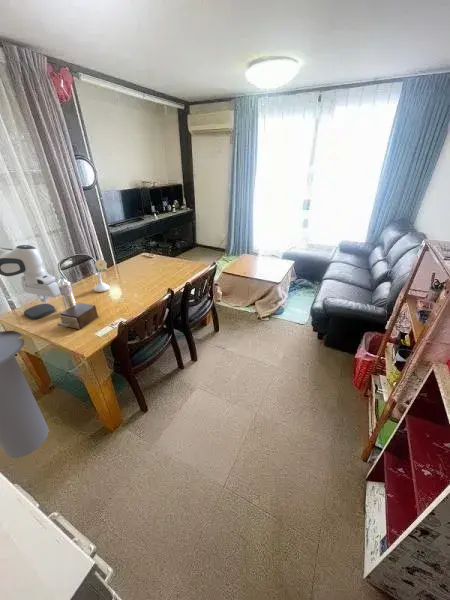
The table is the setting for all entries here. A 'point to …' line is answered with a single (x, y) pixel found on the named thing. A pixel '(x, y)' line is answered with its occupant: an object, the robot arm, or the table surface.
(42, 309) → the media streaming box
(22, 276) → the robot arm
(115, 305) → the table surface
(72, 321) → the drawer
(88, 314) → the cabinet
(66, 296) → the water bottle
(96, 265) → the flower in vase
